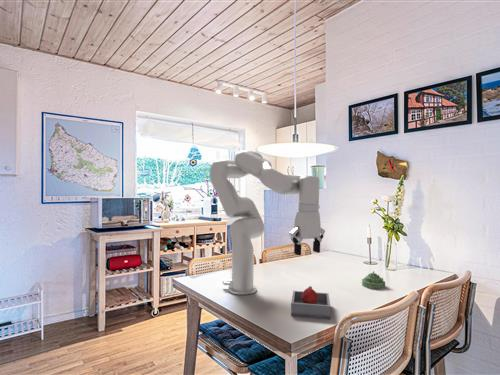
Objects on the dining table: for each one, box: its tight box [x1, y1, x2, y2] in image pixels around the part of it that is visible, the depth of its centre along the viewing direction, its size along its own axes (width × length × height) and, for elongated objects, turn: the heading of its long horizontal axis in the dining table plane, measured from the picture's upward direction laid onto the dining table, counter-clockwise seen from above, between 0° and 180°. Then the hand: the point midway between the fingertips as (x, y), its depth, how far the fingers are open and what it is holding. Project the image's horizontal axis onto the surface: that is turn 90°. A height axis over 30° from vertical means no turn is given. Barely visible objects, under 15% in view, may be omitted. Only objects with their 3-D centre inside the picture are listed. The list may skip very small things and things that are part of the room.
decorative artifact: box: [361, 271, 386, 291], centre depth 146 cm, size 10×7×10 cm
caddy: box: [290, 290, 332, 320], centre depth 116 cm, size 14×14×4 cm
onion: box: [302, 285, 318, 304], centre depth 116 cm, size 6×6×8 cm
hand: (307, 253), depth 119 cm, fingers open, 9 cm apart
